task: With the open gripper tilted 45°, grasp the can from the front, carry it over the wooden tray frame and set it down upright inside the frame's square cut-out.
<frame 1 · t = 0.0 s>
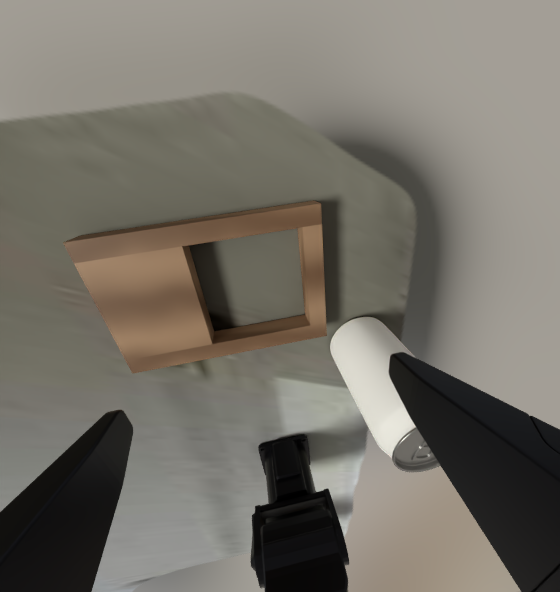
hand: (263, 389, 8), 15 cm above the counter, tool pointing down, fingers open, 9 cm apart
can: (356, 338, 28), on the counter
wooden tray frame: (252, 281, 22), on the counter
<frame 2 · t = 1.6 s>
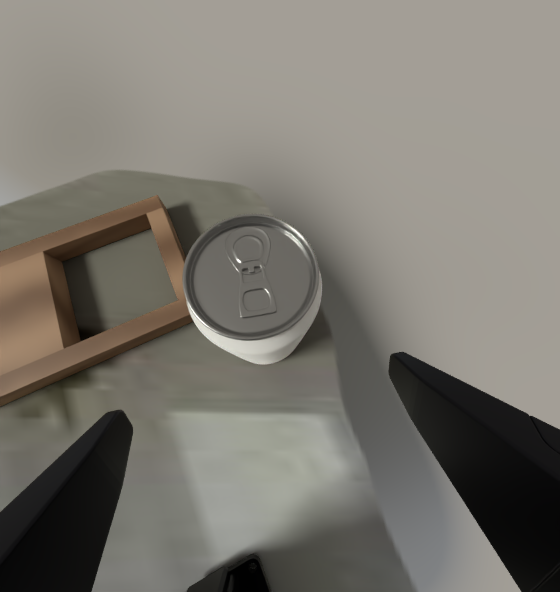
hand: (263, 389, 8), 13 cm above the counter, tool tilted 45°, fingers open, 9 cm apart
can: (264, 326, 22), on the counter
wooden tray frame: (122, 283, 23), on the counter
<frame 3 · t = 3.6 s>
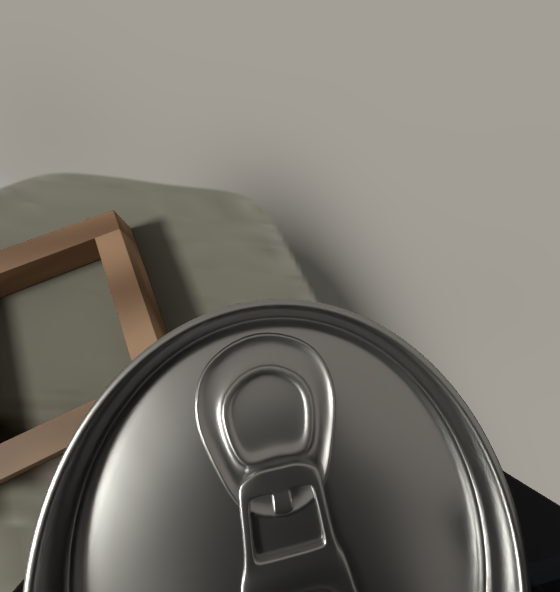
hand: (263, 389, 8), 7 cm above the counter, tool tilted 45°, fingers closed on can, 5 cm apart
can: (273, 409, 14), on the counter, touching gripper
wooden tray frame: (59, 342, 15), on the counter
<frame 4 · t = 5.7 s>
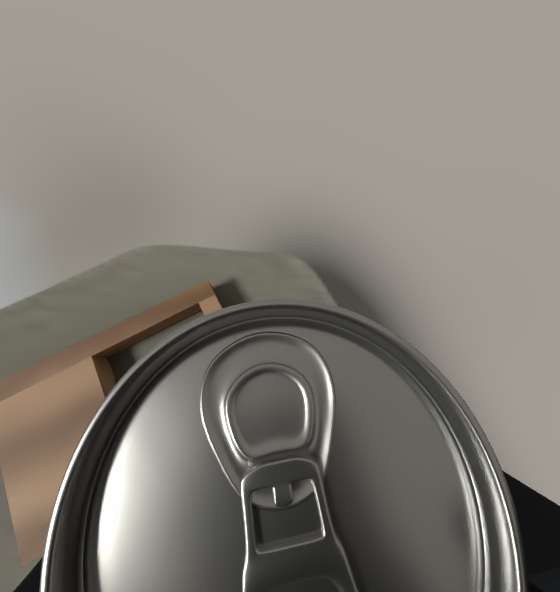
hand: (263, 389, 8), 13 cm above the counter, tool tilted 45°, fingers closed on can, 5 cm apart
can: (280, 408, 15), point 7 cm above the counter, touching gripper
wooden tray frame: (177, 379, 21), on the counter
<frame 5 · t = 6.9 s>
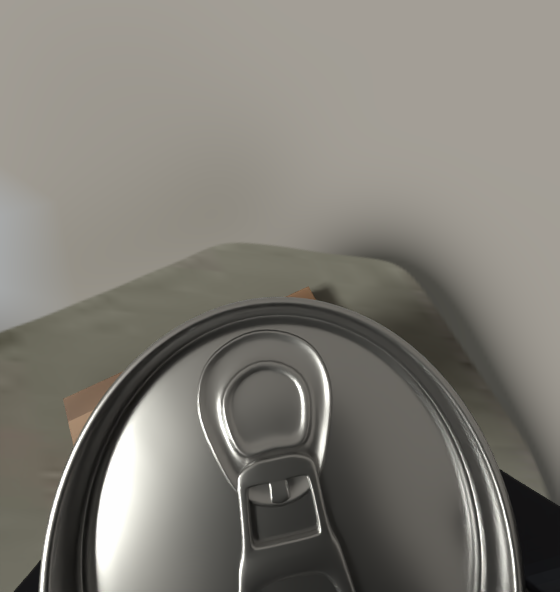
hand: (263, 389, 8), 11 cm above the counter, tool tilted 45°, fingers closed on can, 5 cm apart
can: (282, 408, 15), point 4 cm above the counter, touching gripper
wooden tray frame: (270, 398, 18), on the counter
when the fingers open (8 cm above the counter, at t = 7.9 s): can drops 1 cm, resting in wooden tray frame.
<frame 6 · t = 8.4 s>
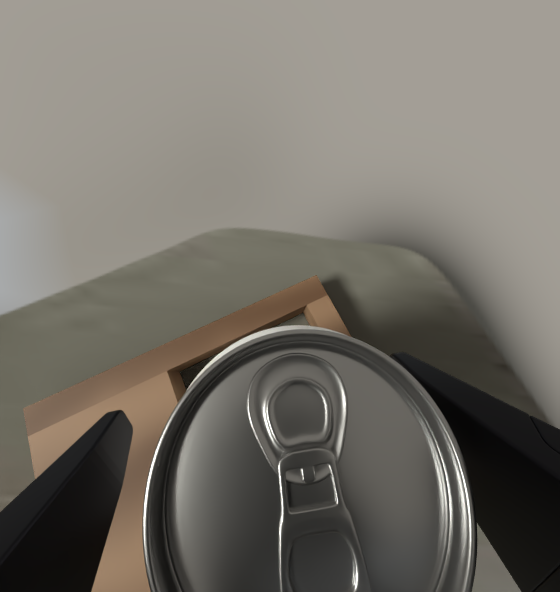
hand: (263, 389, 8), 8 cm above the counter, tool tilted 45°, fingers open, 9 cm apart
can: (284, 408, 16), resting in wooden tray frame
wooden tray frame: (272, 406, 16), on the counter
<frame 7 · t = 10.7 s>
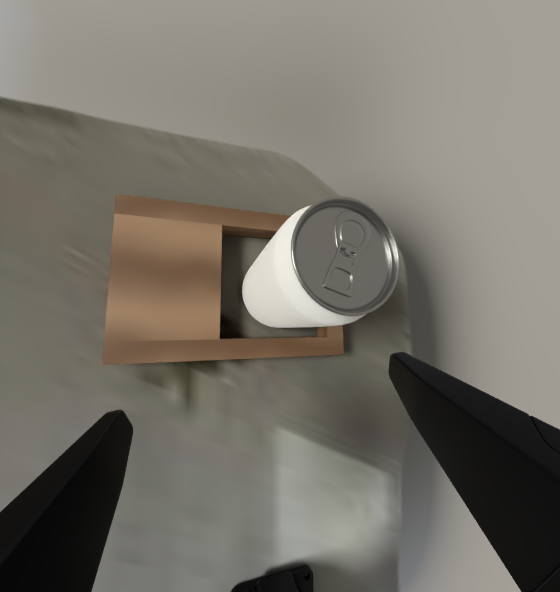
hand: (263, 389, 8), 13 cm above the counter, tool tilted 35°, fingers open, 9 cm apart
can: (276, 292, 23), resting in wooden tray frame
wooden tray frame: (270, 287, 23), on the counter
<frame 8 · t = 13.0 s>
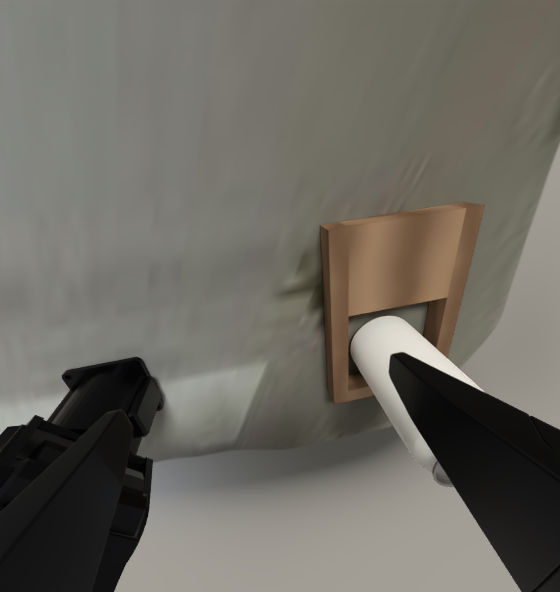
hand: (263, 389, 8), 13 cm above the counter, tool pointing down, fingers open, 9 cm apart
can: (377, 339, 26), resting in wooden tray frame
wooden tray frame: (383, 335, 25), on the counter
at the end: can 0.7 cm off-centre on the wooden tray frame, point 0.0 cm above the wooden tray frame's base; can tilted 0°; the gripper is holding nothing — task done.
